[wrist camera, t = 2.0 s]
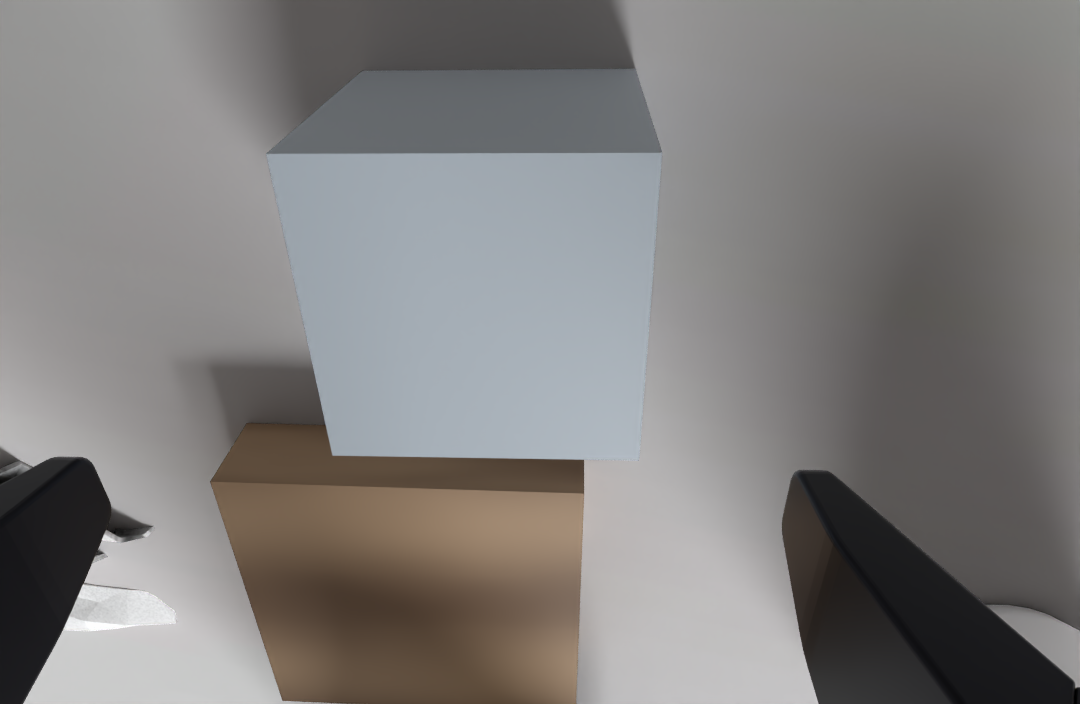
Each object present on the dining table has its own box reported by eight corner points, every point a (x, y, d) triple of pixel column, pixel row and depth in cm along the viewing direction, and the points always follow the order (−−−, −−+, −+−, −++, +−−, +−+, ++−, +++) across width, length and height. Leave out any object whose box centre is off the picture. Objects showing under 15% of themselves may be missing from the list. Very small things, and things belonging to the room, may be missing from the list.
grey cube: (622, 308, 19) (639, 460, 14) (396, 307, 19) (332, 455, 14) (635, 68, 16) (662, 153, 11) (363, 69, 16) (265, 153, 11)
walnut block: (576, 636, 27) (575, 713, 24) (310, 625, 27) (282, 700, 25) (583, 422, 22) (583, 493, 19) (252, 413, 22) (210, 481, 20)
